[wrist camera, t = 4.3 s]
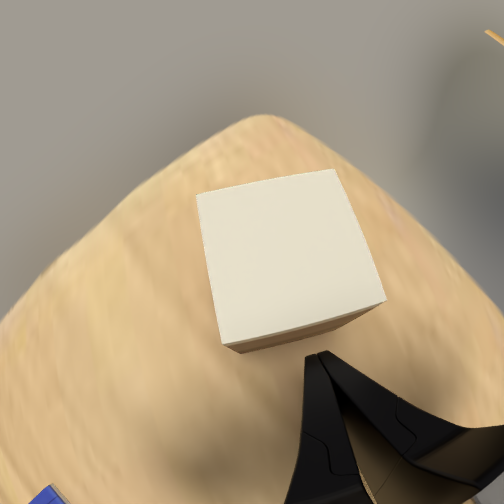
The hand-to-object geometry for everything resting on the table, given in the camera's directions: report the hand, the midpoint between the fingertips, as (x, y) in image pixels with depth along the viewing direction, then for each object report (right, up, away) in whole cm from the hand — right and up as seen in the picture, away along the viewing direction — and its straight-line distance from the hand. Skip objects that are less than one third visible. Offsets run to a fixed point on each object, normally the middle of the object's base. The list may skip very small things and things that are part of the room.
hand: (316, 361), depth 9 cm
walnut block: (-1, +1, +8) cm, 9 cm away
